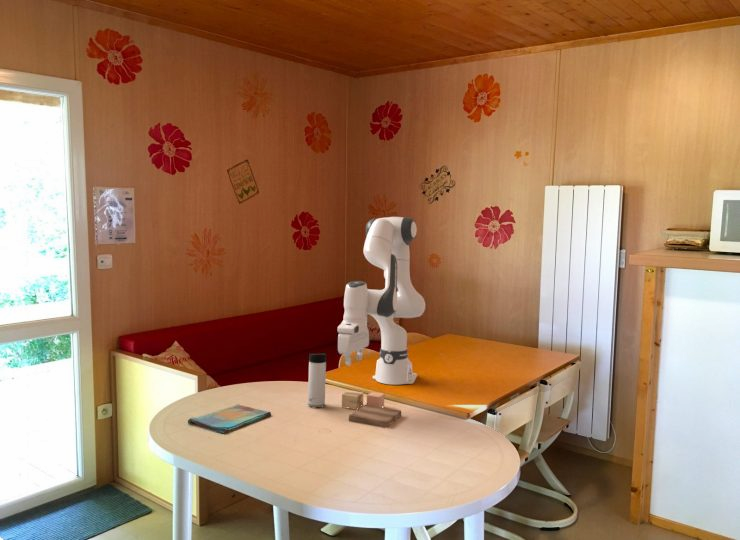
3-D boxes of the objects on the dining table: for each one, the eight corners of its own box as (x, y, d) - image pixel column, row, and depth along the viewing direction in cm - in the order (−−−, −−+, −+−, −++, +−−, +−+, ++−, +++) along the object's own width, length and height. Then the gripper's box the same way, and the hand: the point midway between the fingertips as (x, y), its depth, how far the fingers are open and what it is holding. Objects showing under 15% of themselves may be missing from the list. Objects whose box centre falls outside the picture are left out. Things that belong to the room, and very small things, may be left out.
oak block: (348, 403, 225) (349, 390, 225) (363, 405, 223) (363, 392, 223) (341, 407, 220) (342, 394, 219) (356, 410, 217) (356, 396, 217)
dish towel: (185, 425, 196) (185, 417, 196) (236, 408, 216) (236, 401, 216) (223, 436, 187) (223, 428, 187) (272, 417, 207) (272, 410, 207)
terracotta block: (371, 404, 224) (372, 391, 224) (384, 406, 222) (384, 393, 222) (366, 408, 220) (366, 395, 219) (379, 410, 218) (379, 397, 217)
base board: (365, 410, 217) (365, 404, 217) (401, 416, 212) (401, 410, 212) (348, 421, 204) (349, 415, 204) (386, 427, 199) (386, 421, 199)
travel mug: (309, 408, 216) (310, 354, 215) (306, 403, 223) (307, 350, 221) (326, 407, 218) (327, 354, 217) (322, 402, 224) (324, 350, 223)
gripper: (358, 321, 230) (357, 356, 231) (335, 328, 211) (333, 366, 212) (373, 322, 227) (372, 358, 228) (351, 330, 209) (350, 368, 210)
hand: (353, 362), depth 220 cm, fingers open, 8 cm apart
